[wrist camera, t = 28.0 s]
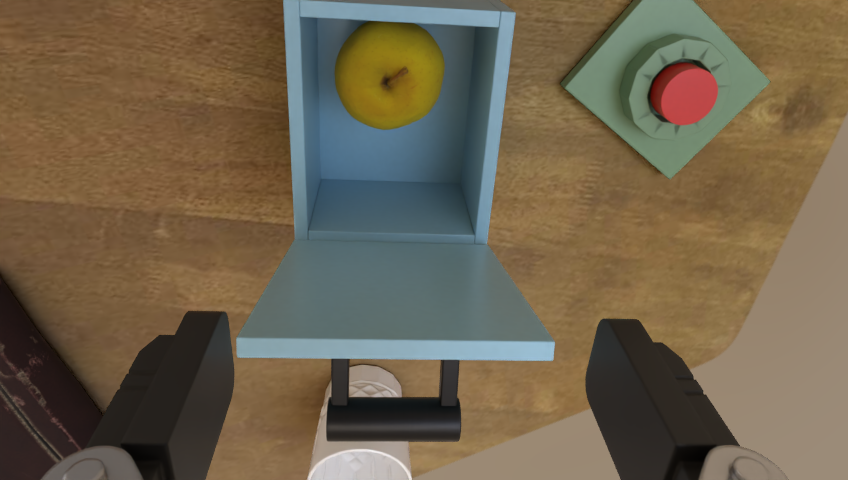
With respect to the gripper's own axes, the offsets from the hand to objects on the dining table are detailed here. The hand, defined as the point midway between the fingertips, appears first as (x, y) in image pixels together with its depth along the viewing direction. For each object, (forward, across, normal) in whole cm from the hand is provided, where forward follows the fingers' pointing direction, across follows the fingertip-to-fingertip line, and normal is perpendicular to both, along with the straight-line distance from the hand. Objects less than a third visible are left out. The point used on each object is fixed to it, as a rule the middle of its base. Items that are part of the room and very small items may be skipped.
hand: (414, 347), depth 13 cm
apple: (+30, 0, 0) cm, 30 cm away
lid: (+14, 0, +7) cm, 16 cm away
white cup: (+30, +2, +29) cm, 42 cm away
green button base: (+30, -18, +1) cm, 35 cm away
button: (+28, -18, +1) cm, 33 cm away
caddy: (+30, 0, +2) cm, 30 cm away
